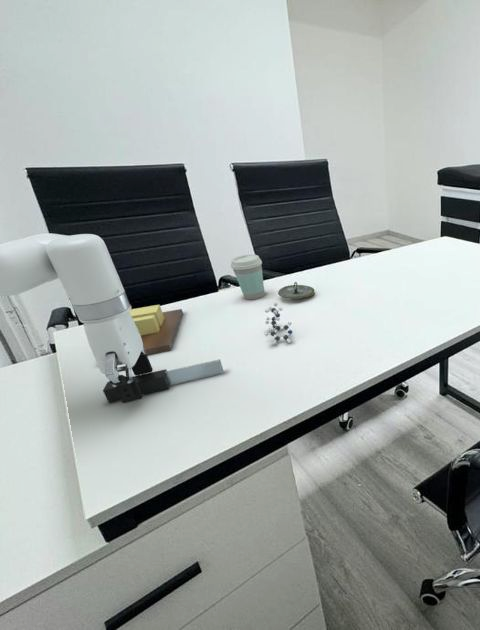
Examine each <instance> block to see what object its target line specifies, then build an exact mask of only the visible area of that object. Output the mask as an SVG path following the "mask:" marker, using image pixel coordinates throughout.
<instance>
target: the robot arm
mask: <svg viewBox="0 0 480 630" xmlns="http://www.w3.org/2000/svg"><path fill="white" fill-rule="evenodd" d="M57 279H59V282H60V283H61V286H62V287H63V289H64V291H65V293H66V296H67V298H68V300H69V301H70V304H71V306H72V308H73V310H74V312H75V314H76V316H77V319H78V320H79V322H80V323H82V324H83V329H84V332H85V335H86V339H87V342H88V345H89V347H90V350H91V352H92V356H93V357H94V359H95V362H96V364H97V367H98V369H99V371H100V373H101V374H103V375H104V376H105V378H107V380H108V382H110V383H111V384H112V386H113V387H115V389H116V391H117V393H118V395H119V397H120V399H121V400H120V402H121V403H122V404H126V403H130V402H135V401H139V400H142V399H143V396H144V395H142V393H141V391H140V389H139V387H138V384H137V382H136V380H133V379H132V377H133V376H137V375H142V374H146V373H151V372H154V370H153V366H152V363H151V361H150V359H149V357H148V355H147V354H146V351H145V349H144V348H143V342H142V338H141V336H140V333H139V331H138V329H137V326H136V324H135V322H134V320H133V318H132V316H131V314H130V312H129V311H130V310H131V309H132V305H131V302H130V301H129V298H128V296H127V293H126V290H125V288H124V286H123V284H122V281H121V278H120V275H119V274H118V271H117V269H116V266H115V264H114V262H113V260H112V257H111V254H110V252H109V250H108V247H107V245H106V243H105V241H104V239H103V238H102V237H100V236H99V235H96V234H93V233H80V234H71V235H65V234H59V233H50V232H44V233H38V234H32V235H29V236H26V237H22V238H17V239H13V240H10V241H6V242H3V243H0V297H1V296H2V297H10V296H17V295H19V294H20V295H21V294H22V293H25V292H28V291H30V290H33V289H35V288H37V287H39V286H41V285H44V284H47V283H49V282H52V281H54V280H57ZM143 354H145V355H143ZM122 365H124V366H122ZM118 366H119V367H118ZM121 372H125V375H123V374H120V373H121Z"/></svg>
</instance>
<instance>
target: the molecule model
mask: <svg viewBox="0 0 480 630" xmlns="http://www.w3.org/2000/svg"><path fill="white" fill-rule="evenodd" d="M277 306H278V303H277V302H274V303H273V307H272V306H269V307H268V308H266V309H264V312H265V313H269V312H271V313H273V315H274V316H272V317H269V316H267V317H266V318H265V319H266V321H265V322H264V323H265V325H269V324H271V326H272V327H271V328H269V329H268V332H264V336H265V337H268V336H269V335H270V336H271V337H274V340H272V342H271V345H273V346H275V345H276V344H277V343H276V342H279V341H280V340H284V341H287V343H288V344H291V343H292V340H291V339H289V336H290V335H293V330H292V329H290V326H291V325H292V321H288V322H287V324H285V325H283V326H280V325H278V324H277V322H279V321H281V318H280V317H281V313H280V312H279V311H281V312H282V311H283V309H284V308H283V307H281V306H280V307H278V309H277V308H276V307H277ZM270 320H271V321H270ZM283 330H285V331H287V334H285V335H283V336H279V335H277V331H283Z"/></svg>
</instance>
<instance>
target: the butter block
mask: <svg viewBox="0 0 480 630" xmlns="http://www.w3.org/2000/svg"><path fill="white" fill-rule="evenodd" d="M129 312H130V314H131V316H132V318H133V319H134V318H139V317H145V316H150V315H155V317H156V320H157V323H158V325H159V326H161V325H162V323H163V321H164V315H163V313H162V312H163V311H162V308H161V305H160V304H154V305H149V306H143V307H137V308H131V310H130V311H129Z"/></svg>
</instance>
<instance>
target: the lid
mask: <svg viewBox="0 0 480 630" xmlns="http://www.w3.org/2000/svg"><path fill="white" fill-rule="evenodd" d="M277 294H278V296H279V297H282V298H284V299H288V300H302V299H307V298H310V297H313V296H314V295H315V289H314V287H312V286H310V285H304V284H298V282H297V281H294V283H293V284H291V285H287V286H283V287H281V288H280V289H278V291H277Z"/></svg>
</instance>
